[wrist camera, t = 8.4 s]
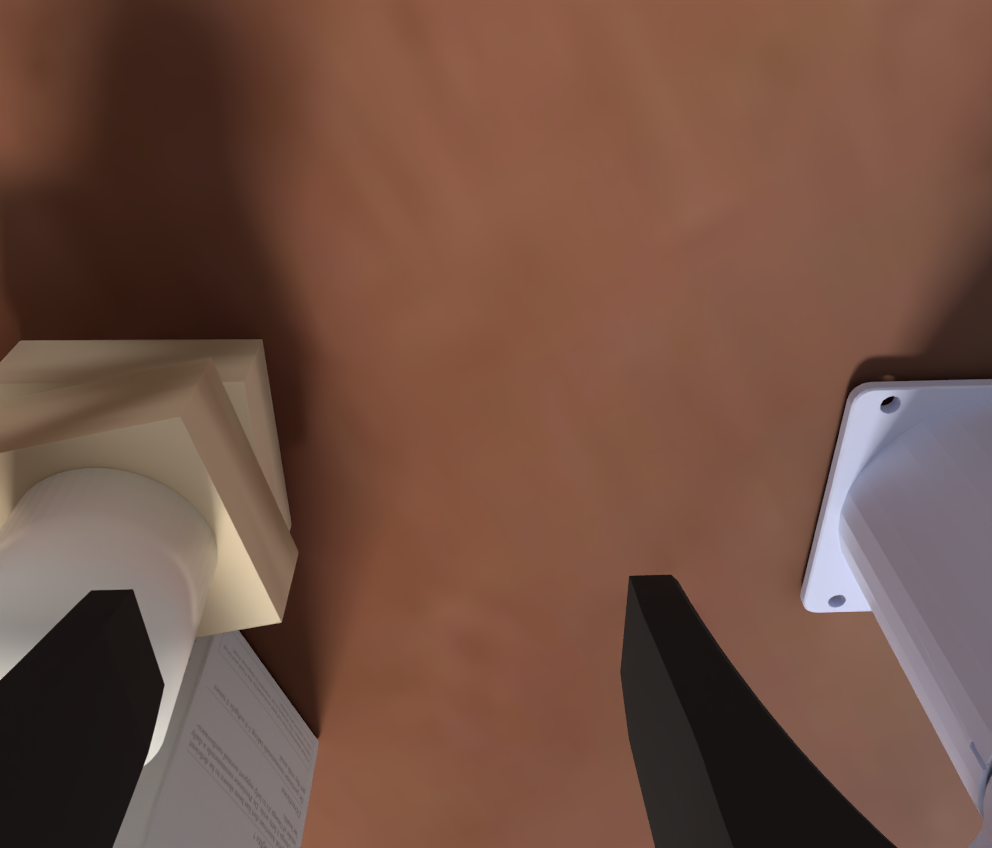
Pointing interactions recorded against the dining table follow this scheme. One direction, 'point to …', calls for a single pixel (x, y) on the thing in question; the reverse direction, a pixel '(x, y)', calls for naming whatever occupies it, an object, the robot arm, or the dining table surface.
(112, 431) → the oak slab top
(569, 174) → the dining table surface
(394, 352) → the dining table surface
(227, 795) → the supplement box
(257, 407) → the oak slab bottom
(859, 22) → the dining table surface
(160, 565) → the ceramic jar
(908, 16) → the dining table surface
